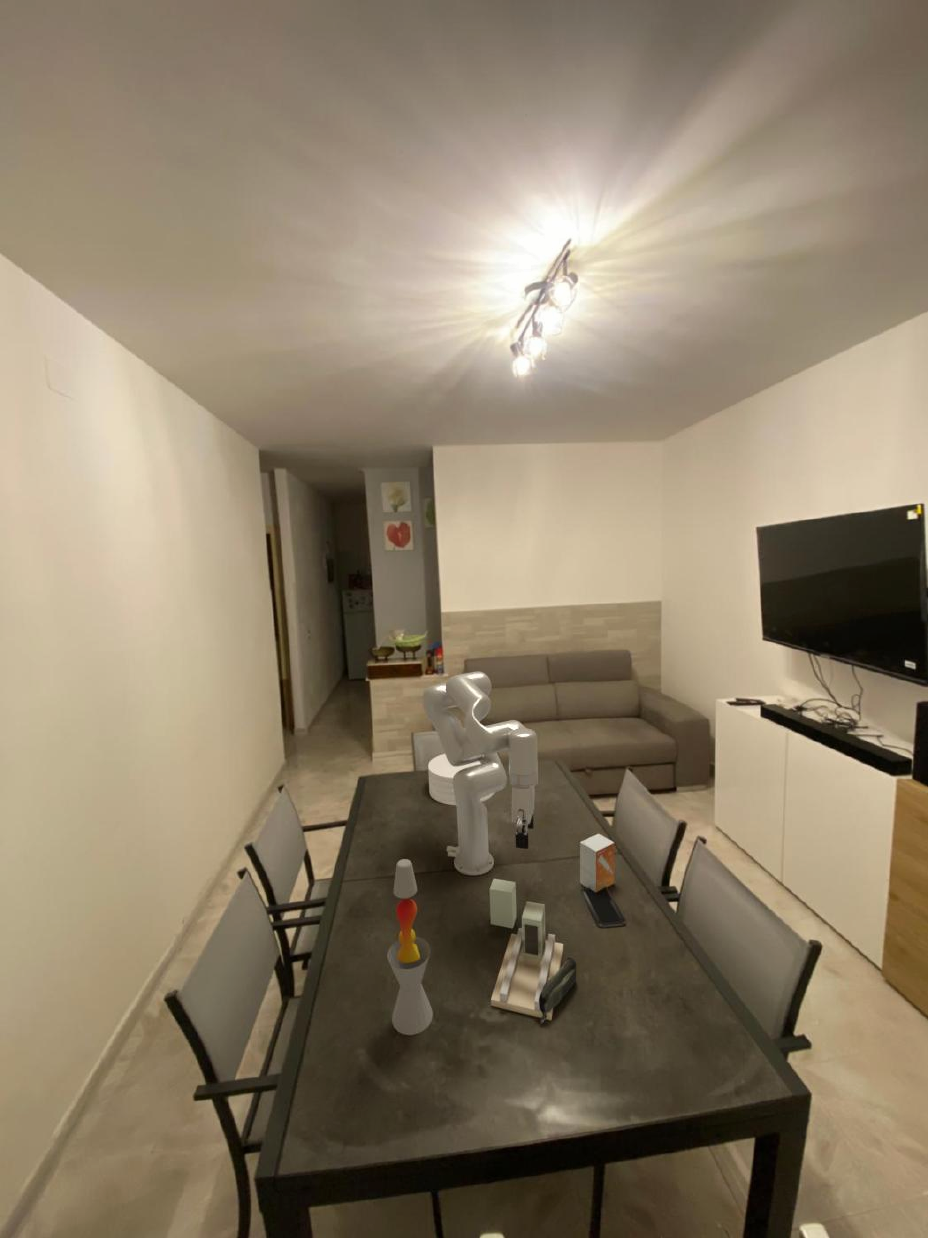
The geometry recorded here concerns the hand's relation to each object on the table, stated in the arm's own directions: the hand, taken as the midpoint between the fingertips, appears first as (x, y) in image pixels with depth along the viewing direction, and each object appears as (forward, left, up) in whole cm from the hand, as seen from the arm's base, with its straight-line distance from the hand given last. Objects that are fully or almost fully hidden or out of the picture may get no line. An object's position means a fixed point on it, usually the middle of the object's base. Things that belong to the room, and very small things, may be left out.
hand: (525, 837), depth 134 cm
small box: (+18, +18, -22) cm, 34 cm away
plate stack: (-40, +67, -23) cm, 82 cm away
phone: (+20, +8, -23) cm, 31 cm away
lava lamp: (-17, -37, -22) cm, 47 cm away
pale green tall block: (-5, -4, -22) cm, 23 cm away
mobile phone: (+11, -25, -22) cm, 35 cm away
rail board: (+5, -20, -22) cm, 30 cm away
